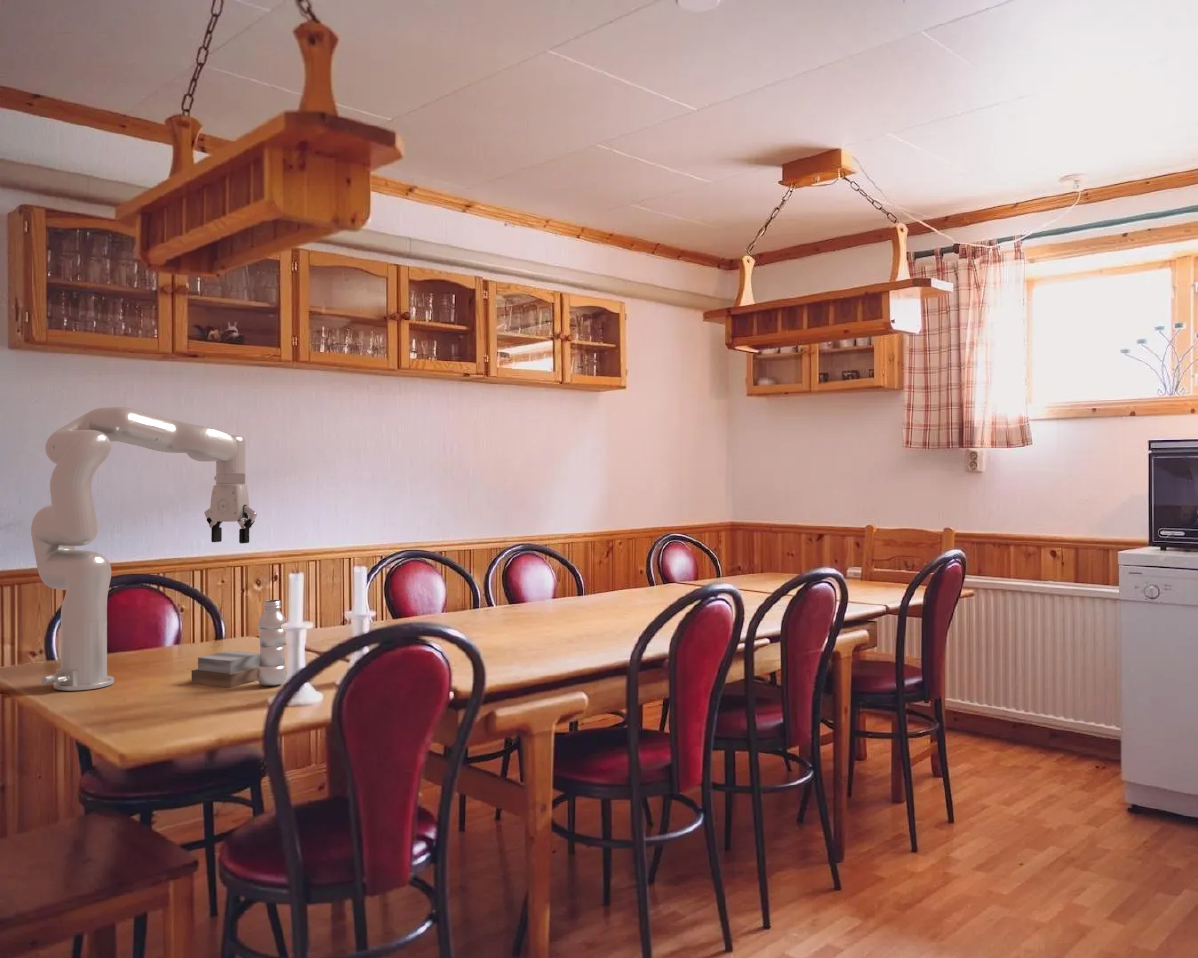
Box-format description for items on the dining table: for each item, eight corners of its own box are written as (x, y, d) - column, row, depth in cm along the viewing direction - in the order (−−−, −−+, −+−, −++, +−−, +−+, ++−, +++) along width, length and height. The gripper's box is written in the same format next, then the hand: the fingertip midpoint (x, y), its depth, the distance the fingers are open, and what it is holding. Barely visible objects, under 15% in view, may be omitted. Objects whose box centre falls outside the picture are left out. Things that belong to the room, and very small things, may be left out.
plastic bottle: (252, 685, 227) (252, 600, 226) (279, 680, 231) (279, 598, 231) (264, 689, 222) (264, 603, 222) (292, 685, 227) (292, 600, 226)
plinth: (230, 687, 224) (230, 662, 224) (191, 683, 228) (191, 658, 228) (266, 677, 235) (266, 653, 235) (229, 673, 240) (229, 649, 239)
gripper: (195, 480, 263) (195, 542, 263) (245, 480, 257) (245, 544, 257) (216, 480, 270) (215, 540, 270) (265, 480, 264) (264, 542, 264)
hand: (230, 542), depth 263 cm, fingers open, 9 cm apart
